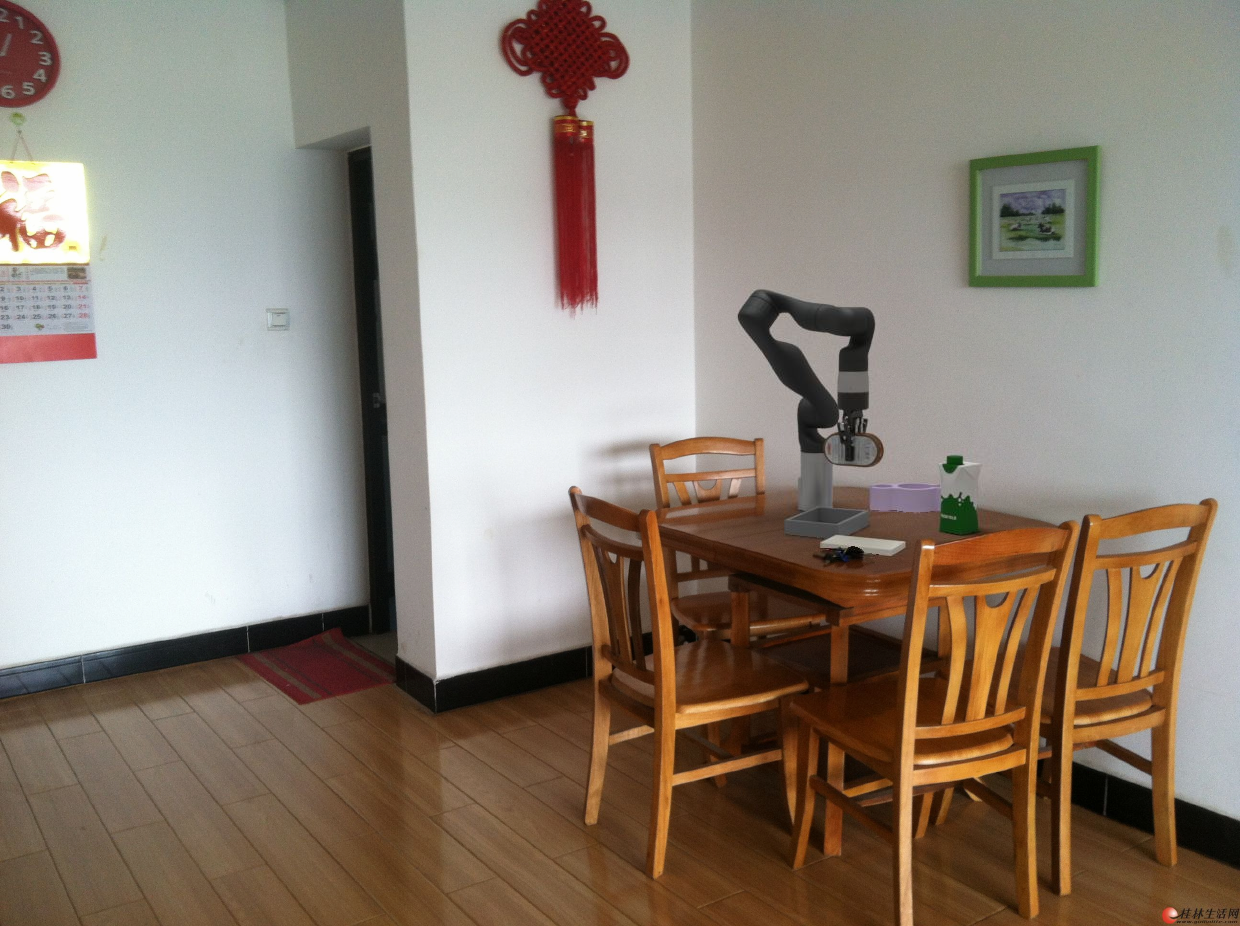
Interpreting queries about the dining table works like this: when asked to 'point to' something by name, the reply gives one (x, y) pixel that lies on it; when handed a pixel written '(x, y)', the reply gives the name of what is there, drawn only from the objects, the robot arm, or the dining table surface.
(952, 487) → the milk carton
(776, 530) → the dining table surface
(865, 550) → the cream board
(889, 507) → the clip
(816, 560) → the dining table surface
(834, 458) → the tin
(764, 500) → the dining table surface
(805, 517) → the bin
